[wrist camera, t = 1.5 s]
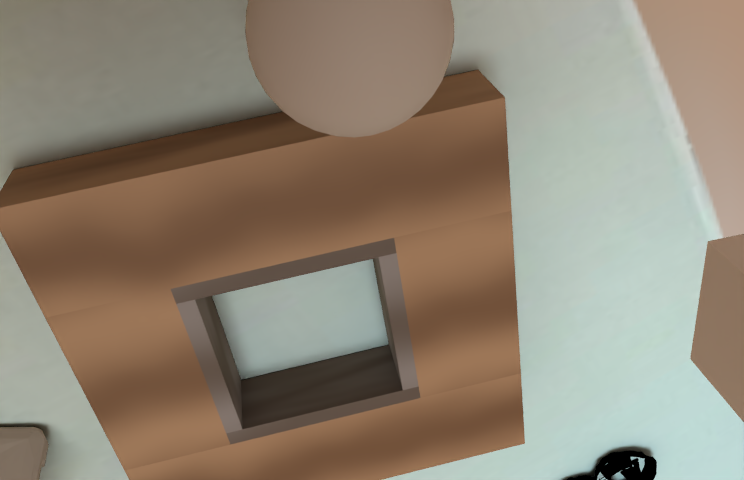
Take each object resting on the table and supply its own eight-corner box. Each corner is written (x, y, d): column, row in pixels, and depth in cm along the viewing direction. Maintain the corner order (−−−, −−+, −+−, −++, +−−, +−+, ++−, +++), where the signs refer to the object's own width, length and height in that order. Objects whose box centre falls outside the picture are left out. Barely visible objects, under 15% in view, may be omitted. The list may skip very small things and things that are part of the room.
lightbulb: (401, -107, 27) (495, -61, 17) (392, 55, 30) (468, 167, 21) (235, -111, 26) (242, -65, 16) (244, 57, 29) (254, 175, 19)
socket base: (12, 169, 29) (-11, 209, 27) (477, 69, 31) (504, 97, 28) (163, 482, 40) (158, 535, 37) (503, 398, 42) (524, 443, 39)
